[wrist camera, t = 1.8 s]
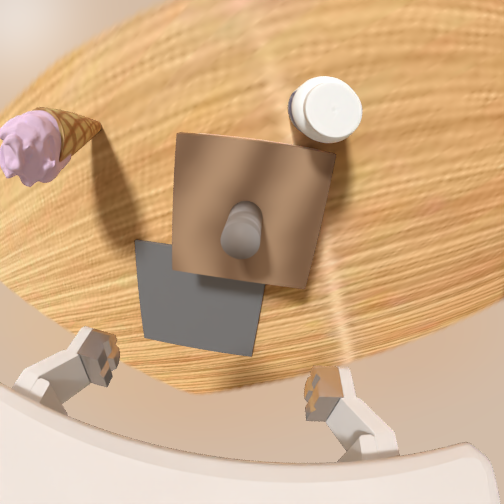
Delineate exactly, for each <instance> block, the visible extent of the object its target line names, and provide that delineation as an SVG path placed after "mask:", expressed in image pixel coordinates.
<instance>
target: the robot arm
mask: <svg viewBox="0 0 504 504" xmlns="http://www.w3.org/2000/svg"><path fill="white" fill-rule="evenodd" d="M116 342H117V338H116V335H114V334H111V333H107V332H104V331H101V330H97V329H93V328H90V327H87V326H84V327H82V328H81V329H80V331H79V332H78V334H77V335H76V337H75V338H74V340H73V341H72V343H71V344H70V346H69V347H68V349H67V350H62V351H60V352H58V353H56V354H54V355H52V356H50V357H48V358H46V359H44V360H42V361H40V362H38V363H36V364H34V365H32V366H30V367H28V368H26V369H24V370H23V372H22V373H21V375H20V376H19V378H18V379H17V381H16V383H15V384H14V386H13V387H12V389H11V388H9V387H7V386H6V385H4V384H2V383H1V382H0V504H500V499H499V492H498V487H497V483H496V478H495V475H494V471H493V467H492V464H491V462H490V460H489V459H488V457H487V456H486V455H484V454H483V453H482V452H481V451H480V450H478V449H477V448H476V447H475V446H473V445H472V444H470V443H468V442H463V443H458V444H455V445H451V446H447V447H443V448H438V449H434V450H430V451H425V452H420V453H414V454H409V455H403V456H400V454H399V450H398V445H397V441H396V437H395V433H394V431H393V430H392V429H391V428H390V427H389V426H388V425H387V424H386V423H385V422H384V421H383V420H382V419H381V418H380V417H379V416H378V415H377V414H376V413H375V412H373V411H372V410H371V408H370V407H368V405H366V404H365V402H363V400H362V399H360V398H357V397H356V393H355V388H354V384H353V380H352V375H351V371H350V369H349V367H334V366H313V367H312V369H311V371H310V373H311V376H310V377H309V378H307V381H306V384H305V389H304V390H305V391H304V397H305V400H306V401H307V402H308V404H307V405H306V407H305V411H306V420H307V421H324V422H326V424H327V425H328V427H329V428H330V429H331V431H332V432H333V433H334V435H335V436H336V438H337V439H338V440H339V442H340V443H341V444H342V446H343V447H344V448H345V450H346V451H347V452H346V453H345V454H344V455H343V456H342V457H341V458H340V459H339V460H338V461H337V463H336V462H335V463H277V462H261V461H250V460H240V459H230V458H223V457H216V456H209V455H203V454H197V453H191V452H187V451H181V450H177V449H172V448H168V447H163V446H159V445H155V444H151V443H147V442H143V441H140V440H136V439H132V438H129V437H126V436H122V435H119V434H116V433H113V432H110V431H107V430H104V429H101V428H98V427H95V426H92V425H90V424H87V423H84V422H82V421H79V420H77V419H74V418H71V417H69V416H68V415H67V412H66V410H65V409H64V407H63V406H62V404H63V403H64V402H66V401H67V400H68V399H70V398H71V397H72V396H74V395H75V394H77V393H78V392H79V391H81V390H82V389H83V388H85V387H86V386H88V385H89V384H90V383H94V384H97V385H100V386H104V387H108V385H109V383H110V380H111V379H112V372H111V371H113V370H114V369H116V368H117V366H118V364H119V359H120V351H119V348H118V347H117V345H116Z"/></svg>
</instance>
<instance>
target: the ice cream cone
mask: <svg viewBox="0 0 504 504" xmlns="http://www.w3.org/2000/svg"><path fill="white" fill-rule="evenodd" d="M101 127H102V126H101V124H100V122H98V121H95V120H93V119H90V118H87V117H85V116H82V115H78V114H75V113H71V112H67V111H63V110H58V109H51V108H44V107H40V108H36V109H34V110H32V111H29V112H26V113H24V114H22V115H18V116H16V117H14V118H12V119H10V120H9V121H7V122H6V123H5V124H4V125H3V126H2V127H1V129H0V139H2V140H3V143H2V145H1V147H0V166H1V169H2V170H3V172H4V173H5V176H6V178H11V177H13V176H16V175H18V176H19V177H20V179H21V181H22V183H23V184H24V185H26V186H29V187H31V186H32V185H33V184H34V183H36V182H38V181H40V182H43V183H47V182H50V181H52V180H53V179H55V178H56V176H57V175H58V174H59V172H60V171H61V169H63V168H64V167H65V166H66V164H67V163H68V162H69V161H70V159H71V156H72V155H74V154H75V153H76V152H77V151H78V150H79V149H81V148H82V147H83V146H84V145H85V144H86V143H87V142H88V141H90V140H91V139H92V138H93V137H94V136H95V135H96V134H97V133H99V132H100V130H101Z"/></svg>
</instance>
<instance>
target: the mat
mask: <svg viewBox="0 0 504 504" xmlns="http://www.w3.org/2000/svg"><path fill="white" fill-rule="evenodd" d="M135 252H136V266H137V278H138V289H139V298H140V307H141V316H142V323H143V331H144V338H148V339H152V340H157V341H162V342H167V343H172V344H177V345H182V346H187V347H193V348H198V349H204V350H210V351H216V352H222V353H229V354H236V355H243V356H250V357H251V356H252V351H253V346H254V341H255V335H256V330H257V325H258V319H259V314H260V309H261V303H262V298H263V293H264V287H265V284H262V283H255V282H248V281H241V280H234V279H227V278H220V277H214V276H207V275H201V274H194V273H188V272H182V271H175V270H172V245H170V244H163V243H157V242H150V241H143V240H135Z"/></svg>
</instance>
